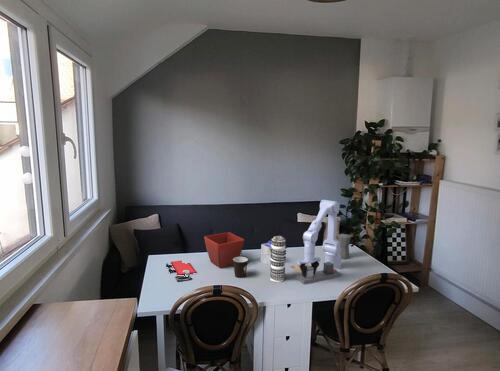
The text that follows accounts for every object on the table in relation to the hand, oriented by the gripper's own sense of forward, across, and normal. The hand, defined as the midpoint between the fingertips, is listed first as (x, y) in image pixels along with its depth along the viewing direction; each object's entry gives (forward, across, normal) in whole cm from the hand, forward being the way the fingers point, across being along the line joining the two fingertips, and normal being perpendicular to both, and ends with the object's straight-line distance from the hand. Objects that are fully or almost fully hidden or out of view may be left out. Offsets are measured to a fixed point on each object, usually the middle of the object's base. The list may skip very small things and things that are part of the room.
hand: (308, 275), depth 194 cm
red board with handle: (+4, +62, -43) cm, 76 cm away
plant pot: (+3, +34, -44) cm, 56 cm away
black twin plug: (+3, -14, 0) cm, 14 cm away
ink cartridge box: (+3, +8, -32) cm, 33 cm away
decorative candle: (+3, +15, -9) cm, 18 cm away
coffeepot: (+3, -45, -21) cm, 50 cm away
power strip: (+3, -7, 0) cm, 8 cm away
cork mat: (+3, -7, -15) cm, 17 cm away
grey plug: (+3, 0, 0) cm, 3 cm away
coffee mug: (+3, +31, -22) cm, 38 cm away
